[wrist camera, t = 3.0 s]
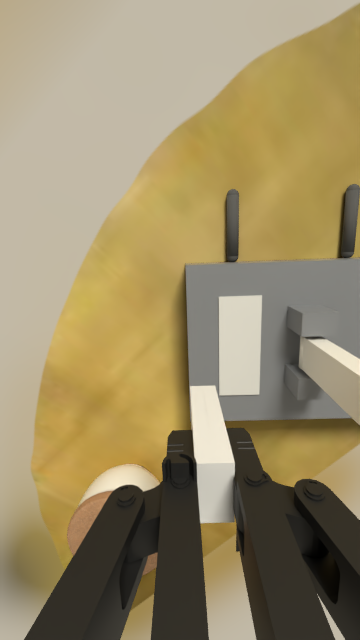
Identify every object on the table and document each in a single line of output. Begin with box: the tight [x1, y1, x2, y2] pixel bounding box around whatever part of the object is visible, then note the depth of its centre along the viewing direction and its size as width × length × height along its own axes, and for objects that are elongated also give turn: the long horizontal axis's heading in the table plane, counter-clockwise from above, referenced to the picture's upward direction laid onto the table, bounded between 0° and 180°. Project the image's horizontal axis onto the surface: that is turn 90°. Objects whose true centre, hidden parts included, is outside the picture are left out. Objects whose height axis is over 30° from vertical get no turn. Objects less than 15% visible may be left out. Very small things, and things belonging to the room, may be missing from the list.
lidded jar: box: [67, 464, 160, 575], centre depth 33 cm, size 11×11×9 cm
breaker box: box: [185, 257, 360, 422], centre depth 29 cm, size 22×16×8 cm
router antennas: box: [227, 184, 360, 262], centre depth 30 cm, size 13×7×1 cm, turn 92°
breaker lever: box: [299, 336, 360, 425], centre depth 21 cm, size 2×4×12 cm, turn 2°
